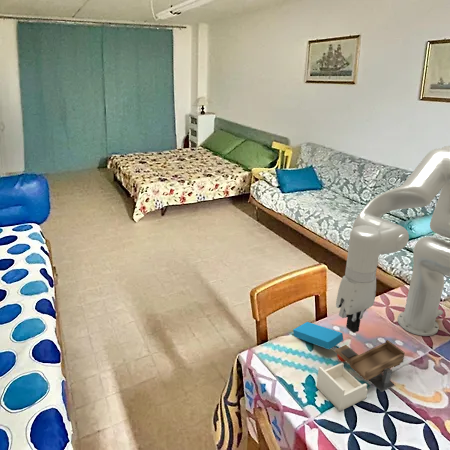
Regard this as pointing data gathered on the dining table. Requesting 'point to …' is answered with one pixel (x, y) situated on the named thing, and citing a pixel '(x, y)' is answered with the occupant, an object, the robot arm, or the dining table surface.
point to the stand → (382, 380)
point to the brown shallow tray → (372, 359)
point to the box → (340, 387)
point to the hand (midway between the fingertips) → (352, 329)
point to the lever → (319, 336)
